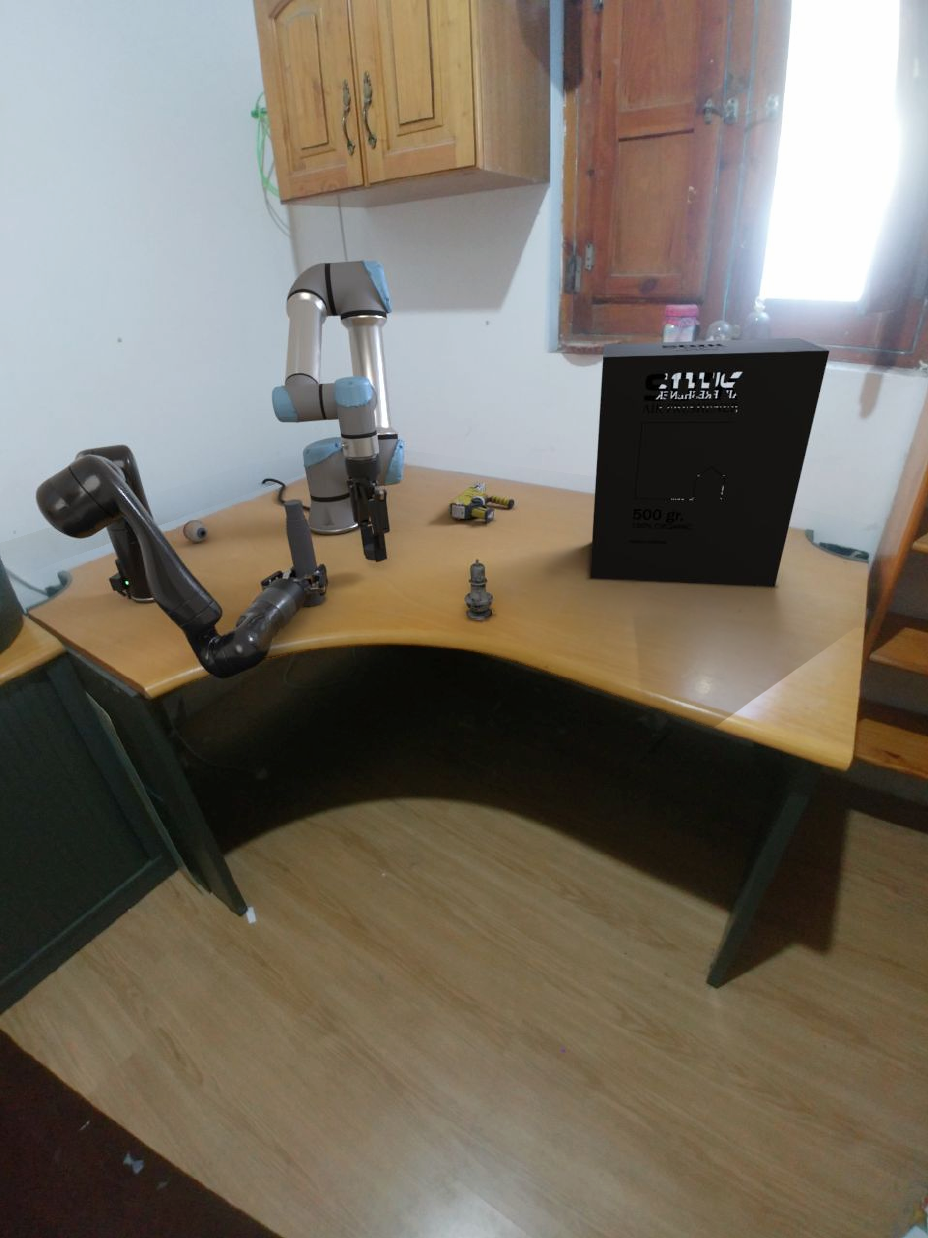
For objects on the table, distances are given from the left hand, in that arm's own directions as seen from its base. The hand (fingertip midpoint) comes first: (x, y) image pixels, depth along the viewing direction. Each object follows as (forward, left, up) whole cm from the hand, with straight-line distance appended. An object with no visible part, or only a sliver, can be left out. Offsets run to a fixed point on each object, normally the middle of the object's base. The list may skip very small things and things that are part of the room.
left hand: (311, 567), depth 129 cm
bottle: (0, -3, -7) cm, 7 cm away
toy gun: (+30, +55, -7) cm, 63 cm away
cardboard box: (+78, +22, -7) cm, 81 cm away
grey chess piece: (+37, -5, -7) cm, 38 cm away
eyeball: (-45, +27, -7) cm, 53 cm away
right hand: (+10, +12, -3) cm, 16 cm away
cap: (+10, +12, 0) cm, 16 cm away
